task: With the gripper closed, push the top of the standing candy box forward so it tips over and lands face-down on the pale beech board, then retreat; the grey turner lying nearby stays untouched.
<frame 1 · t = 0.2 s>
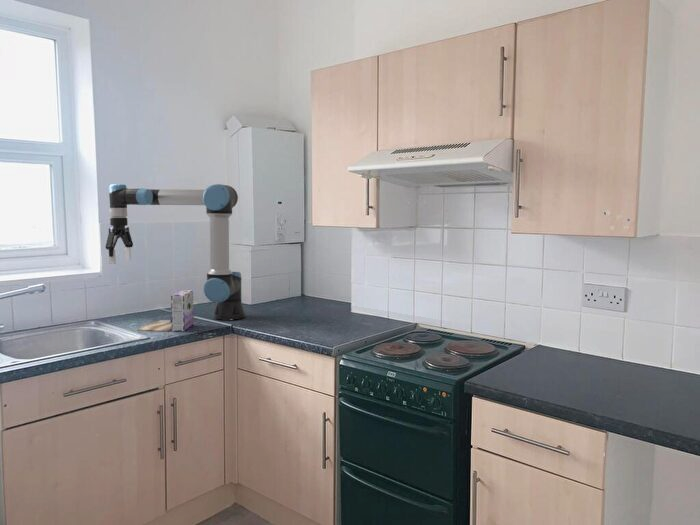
hand: (120, 262, 265), 28 cm above the worktop, tool pointing down, fingers open, 13 cm apart
beech board: (160, 327, 252), on the worktop
candy box: (183, 328, 251), on the worktop
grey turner: (171, 322, 264), on the worktop
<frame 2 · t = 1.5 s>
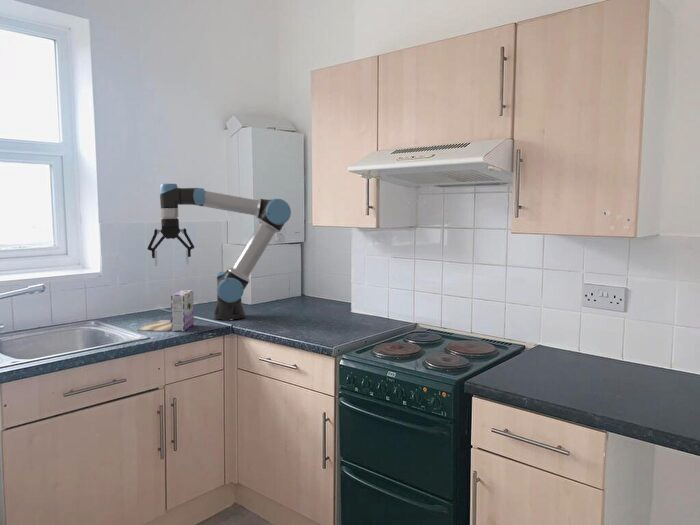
hand: (172, 264, 254), 28 cm above the worktop, tool pointing down, fingers open, 13 cm apart
nothing on the worktop moved.
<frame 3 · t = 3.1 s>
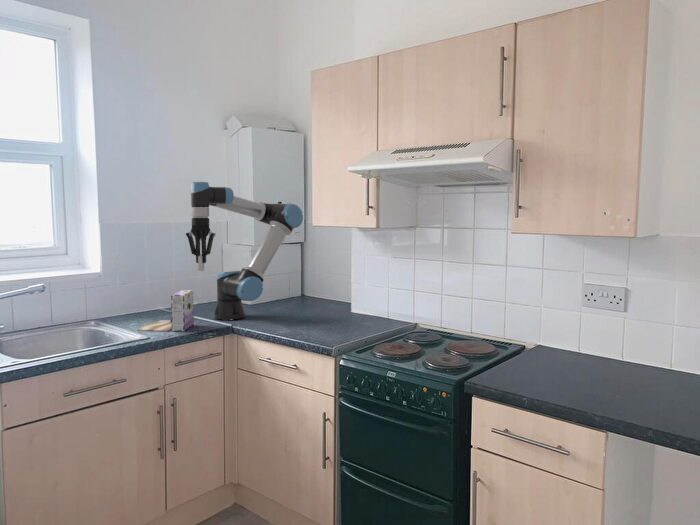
hand: (201, 270, 248), 26 cm above the worktop, tool pointing down, fingers closed
nothing on the worktop moved.
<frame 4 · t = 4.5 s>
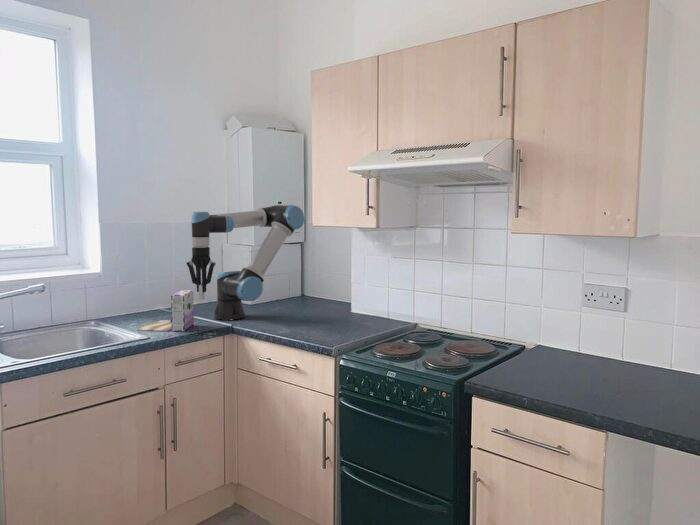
hand: (201, 299, 249), 13 cm above the worktop, tool pointing down, fingers closed
nothing on the worktop moved.
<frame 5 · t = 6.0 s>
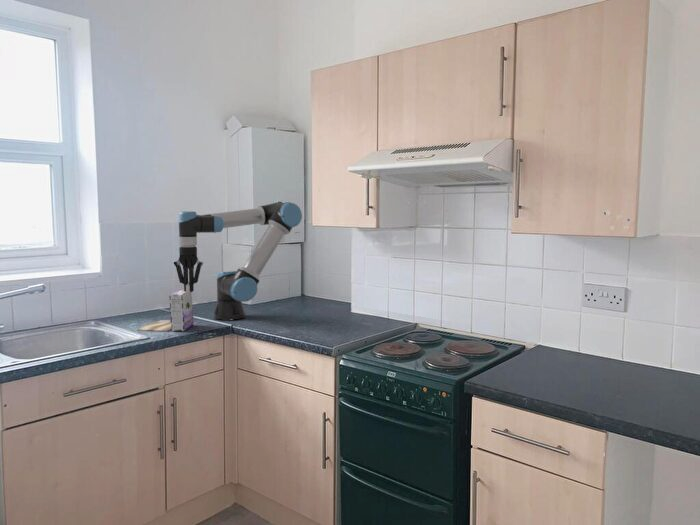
hand: (188, 298, 249), 13 cm above the worktop, tool pointing down, fingers closed
nothing on the worktop moved.
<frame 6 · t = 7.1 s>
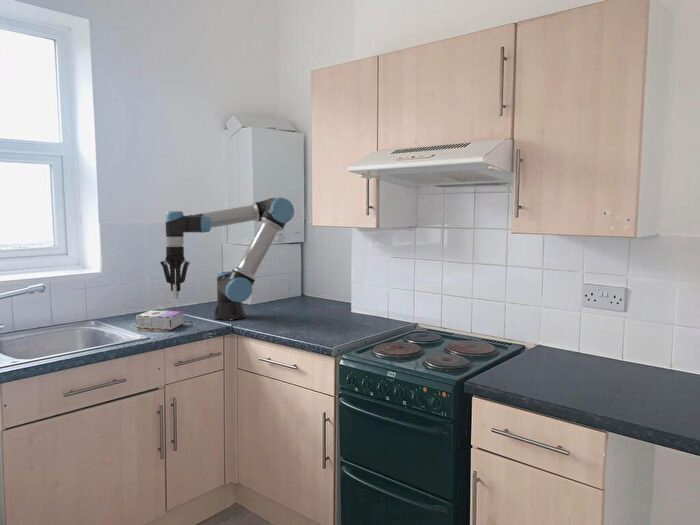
hand: (175, 298, 250), 14 cm above the worktop, tool pointing down, fingers closed
candy box: (178, 320, 251), point 3 cm above the worktop, touching beech board
everything else where it was.
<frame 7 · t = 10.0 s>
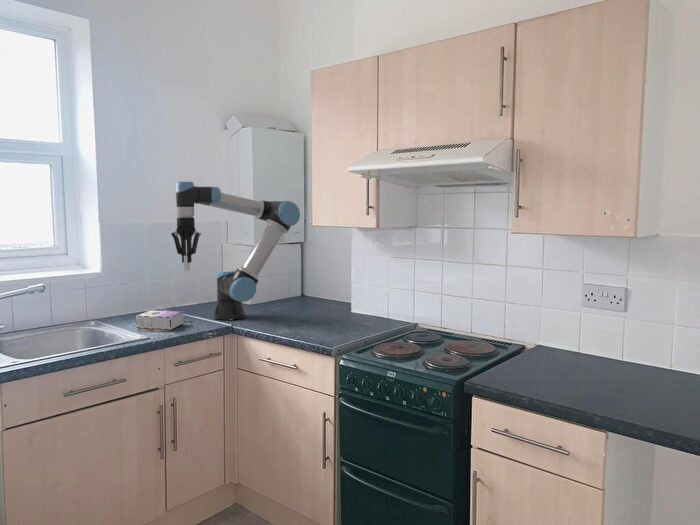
hand: (187, 269, 249), 26 cm above the worktop, tool pointing down, fingers closed
nothing on the worktop moved.
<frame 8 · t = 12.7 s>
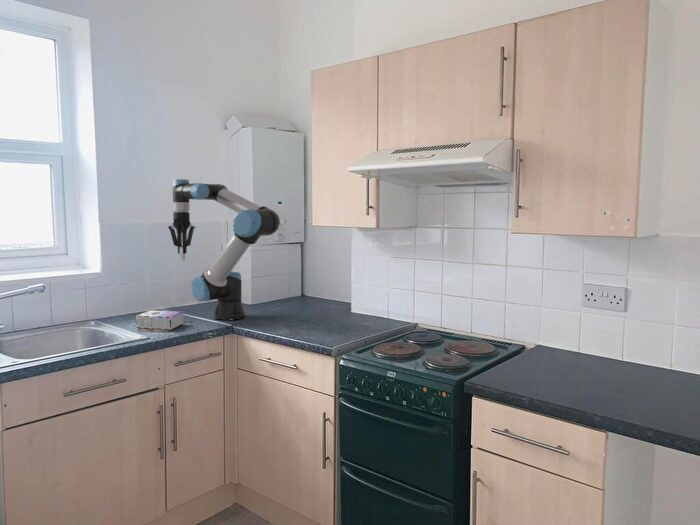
hand: (182, 260, 271), 28 cm above the worktop, tool pointing down, fingers closed
nothing on the worktop moved.
at the end: candy box tilted 89°; candy box inside the target area (9.8 cm from its centre), point 3.4 cm above the worktop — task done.
